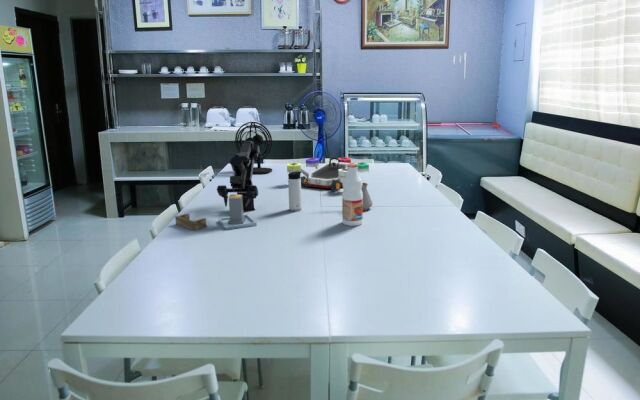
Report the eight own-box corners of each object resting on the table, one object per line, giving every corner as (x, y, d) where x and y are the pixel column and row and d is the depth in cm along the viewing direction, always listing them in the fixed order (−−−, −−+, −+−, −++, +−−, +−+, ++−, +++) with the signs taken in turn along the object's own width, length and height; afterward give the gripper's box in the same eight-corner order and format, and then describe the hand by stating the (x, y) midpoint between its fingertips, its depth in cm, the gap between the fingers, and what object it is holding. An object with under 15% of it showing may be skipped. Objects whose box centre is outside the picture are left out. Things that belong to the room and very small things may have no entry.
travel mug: (300, 211, 260) (299, 173, 255) (287, 211, 261) (286, 172, 256) (303, 208, 266) (302, 170, 261) (291, 208, 267) (289, 170, 262)
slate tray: (247, 217, 252) (247, 214, 252) (256, 225, 239) (256, 222, 239) (218, 221, 246) (218, 218, 246) (225, 230, 234) (225, 226, 233)
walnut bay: (188, 221, 248) (187, 213, 247) (206, 226, 239) (205, 218, 238) (176, 224, 243) (175, 216, 242) (193, 230, 234) (193, 222, 233)
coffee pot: (373, 205, 268) (373, 177, 265) (371, 212, 258) (371, 182, 254) (333, 204, 273) (332, 176, 269) (329, 210, 262) (329, 181, 258)
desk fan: (233, 173, 352) (229, 122, 343) (243, 168, 369) (240, 119, 360) (270, 175, 345) (267, 123, 336) (279, 170, 361) (277, 120, 352)
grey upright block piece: (231, 220, 246) (229, 194, 242) (245, 220, 245) (244, 194, 242) (228, 224, 240) (226, 197, 237) (243, 224, 239) (241, 197, 236)
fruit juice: (345, 219, 246) (345, 161, 239) (364, 220, 243) (364, 162, 236) (340, 225, 237) (339, 165, 230) (360, 226, 235) (360, 166, 227)
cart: (378, 181, 325) (379, 155, 321) (349, 194, 293) (349, 166, 289) (318, 174, 348) (317, 150, 343) (284, 186, 316) (283, 160, 312)
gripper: (216, 168, 241) (211, 197, 233) (255, 168, 239) (252, 197, 232) (221, 181, 250) (217, 209, 243) (259, 181, 249) (256, 209, 241)
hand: (235, 206), depth 239 cm, fingers open, 9 cm apart
